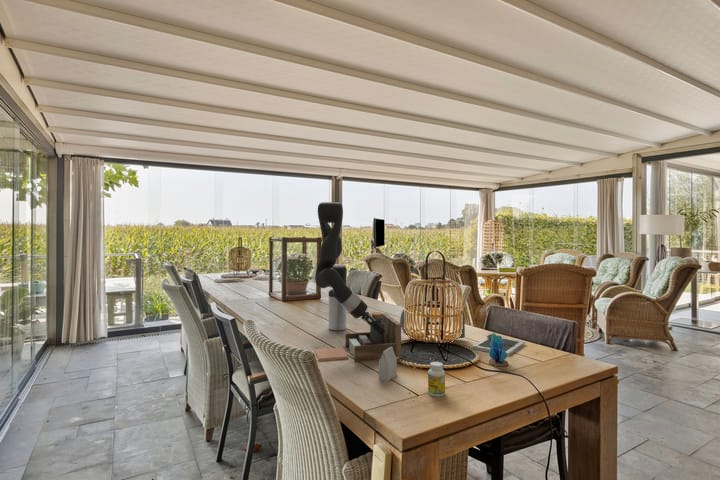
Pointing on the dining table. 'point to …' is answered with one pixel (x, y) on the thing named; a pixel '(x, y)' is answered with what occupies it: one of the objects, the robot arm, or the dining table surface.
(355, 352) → the walnut rack
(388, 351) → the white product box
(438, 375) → the supplement bottle
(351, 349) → the sage offcut
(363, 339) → the charcoal offcut
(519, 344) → the picture frame
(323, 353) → the terracotta pad
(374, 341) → the bottle
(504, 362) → the gemstone
